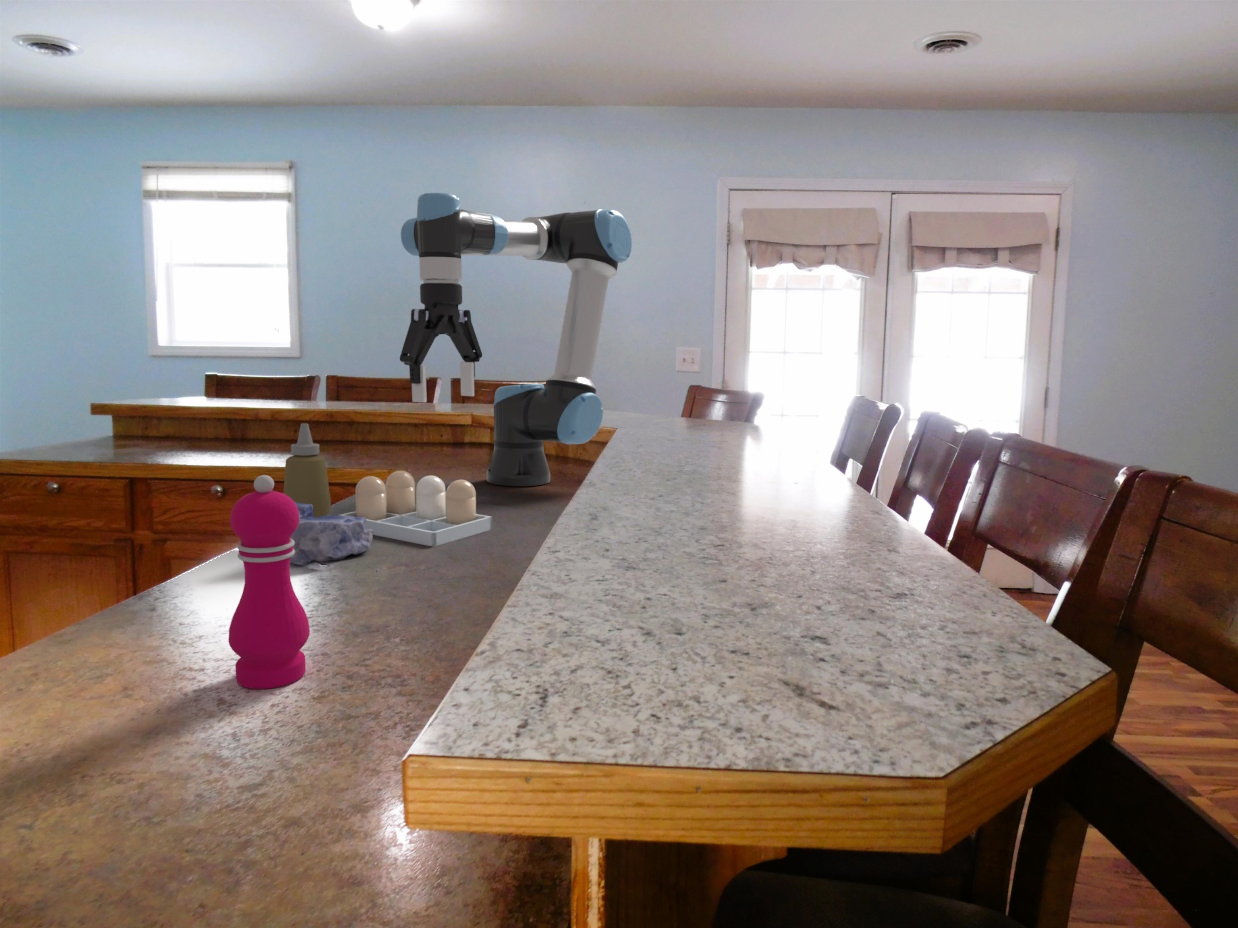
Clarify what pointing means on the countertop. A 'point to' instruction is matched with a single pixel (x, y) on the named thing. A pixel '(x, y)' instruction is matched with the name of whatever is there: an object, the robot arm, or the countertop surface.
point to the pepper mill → (267, 591)
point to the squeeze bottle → (307, 474)
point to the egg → (430, 498)
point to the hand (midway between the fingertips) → (444, 399)
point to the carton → (425, 528)
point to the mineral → (328, 536)
